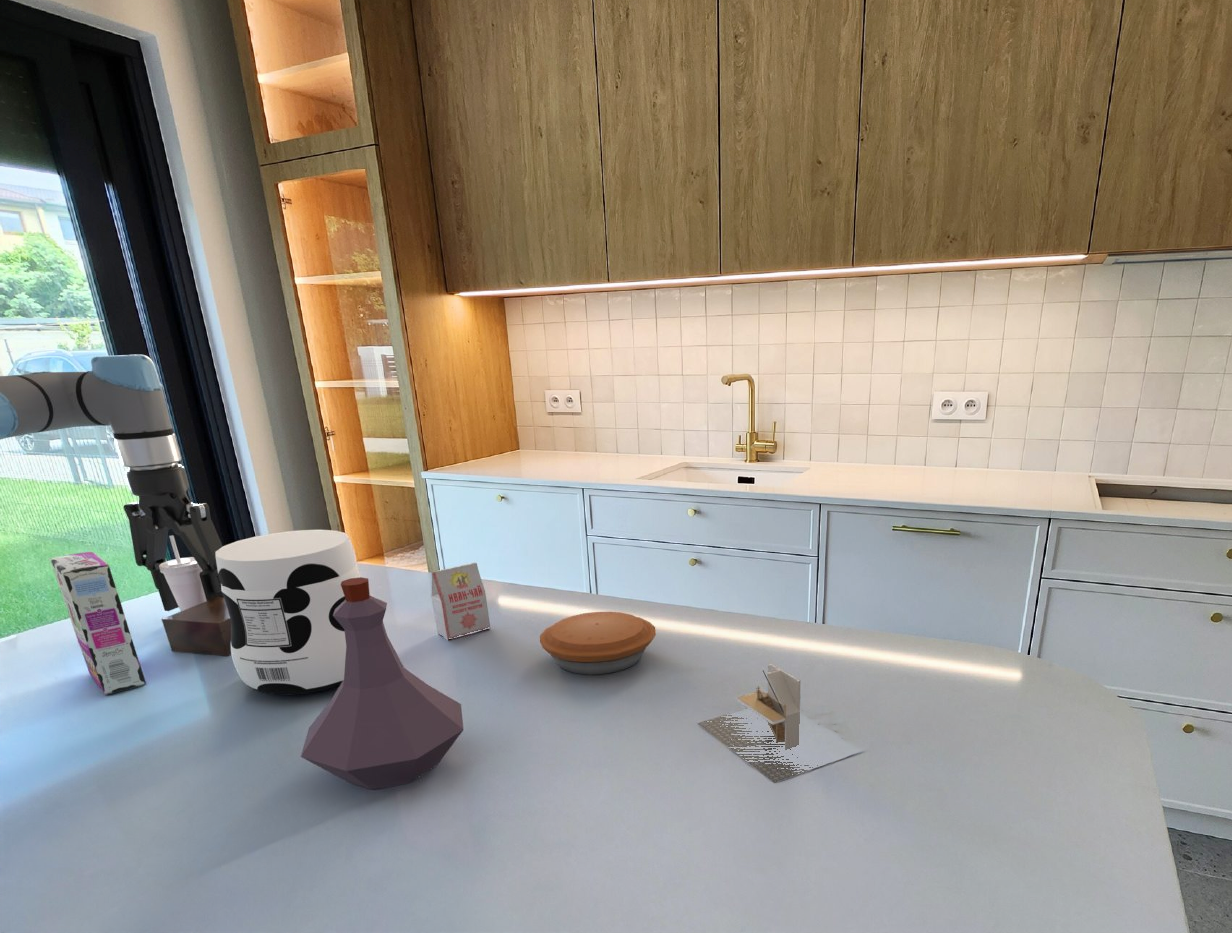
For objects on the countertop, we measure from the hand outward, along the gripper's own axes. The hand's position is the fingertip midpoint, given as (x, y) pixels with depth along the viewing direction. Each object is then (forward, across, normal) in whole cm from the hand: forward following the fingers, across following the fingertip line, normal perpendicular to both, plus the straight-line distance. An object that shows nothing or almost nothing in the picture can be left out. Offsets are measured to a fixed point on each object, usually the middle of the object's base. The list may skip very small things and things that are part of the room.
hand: (196, 609), depth 126 cm
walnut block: (+2, -12, +7) cm, 14 cm away
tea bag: (+2, -46, -3) cm, 46 cm away
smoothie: (+2, 0, 0) cm, 2 cm away
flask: (+2, -59, +34) cm, 68 cm away
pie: (+2, -70, +3) cm, 70 cm away
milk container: (+2, -35, +16) cm, 39 cm away
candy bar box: (+2, -8, +22) cm, 23 cm away
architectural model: (+2, -97, +20) cm, 99 cm away
